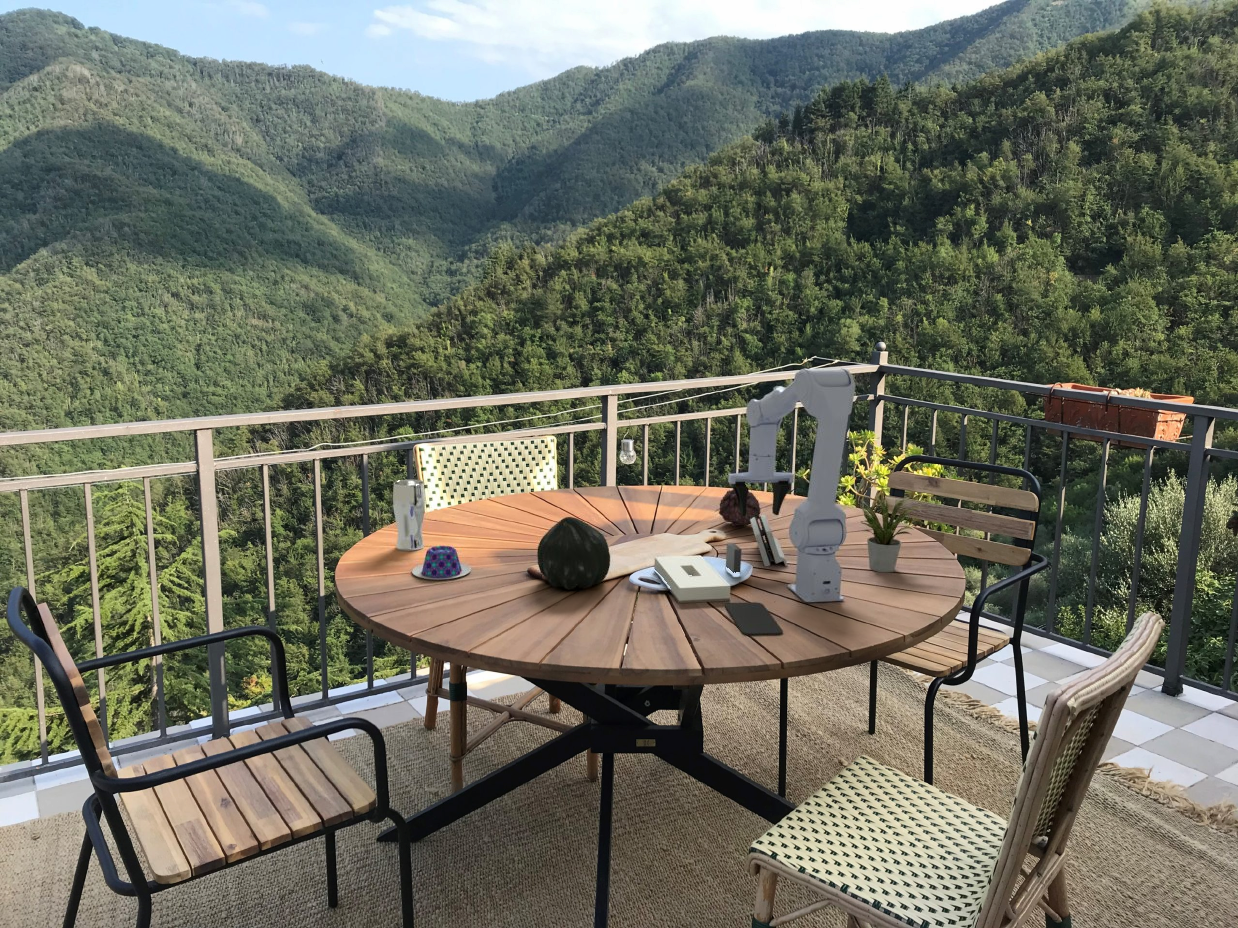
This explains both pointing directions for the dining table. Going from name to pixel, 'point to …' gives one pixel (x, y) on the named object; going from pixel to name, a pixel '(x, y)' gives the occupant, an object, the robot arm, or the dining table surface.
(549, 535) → the squash
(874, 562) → the house plant
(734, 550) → the metal block
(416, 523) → the beer glass
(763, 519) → the grey and black device
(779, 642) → the dining table surface
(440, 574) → the pudding
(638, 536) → the dining table surface
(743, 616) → the phone
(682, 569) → the post foot
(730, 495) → the pine cone
